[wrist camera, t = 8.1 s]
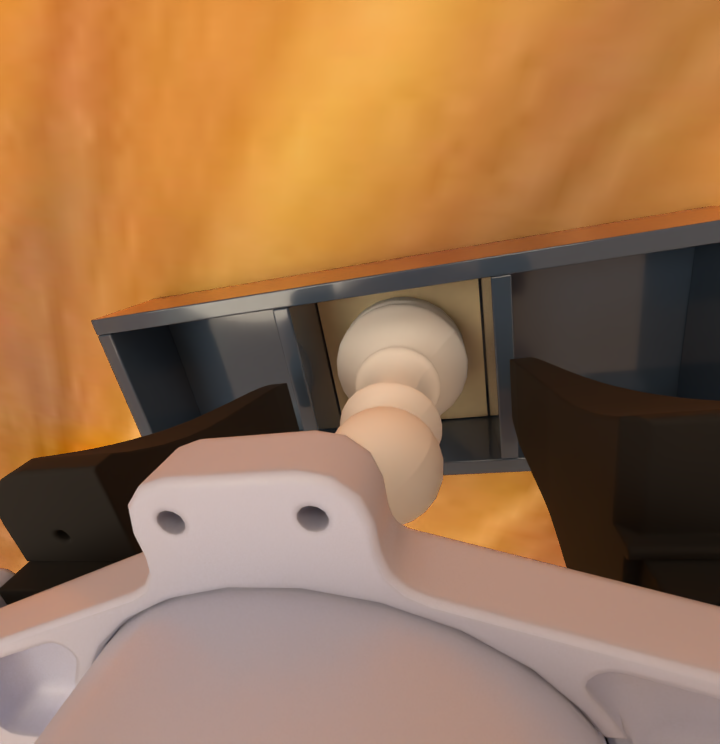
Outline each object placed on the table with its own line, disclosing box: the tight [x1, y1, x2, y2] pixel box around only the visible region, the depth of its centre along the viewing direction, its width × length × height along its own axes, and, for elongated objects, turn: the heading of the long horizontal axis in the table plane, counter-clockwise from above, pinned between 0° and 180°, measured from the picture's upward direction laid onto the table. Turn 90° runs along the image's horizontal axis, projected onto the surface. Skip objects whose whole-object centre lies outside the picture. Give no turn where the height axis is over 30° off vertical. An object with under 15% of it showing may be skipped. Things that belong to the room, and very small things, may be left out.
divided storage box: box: [91, 206, 720, 475], centre depth 15 cm, size 8×22×4 cm, turn 100°
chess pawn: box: [335, 297, 468, 525], centre depth 12 cm, size 5×5×9 cm
